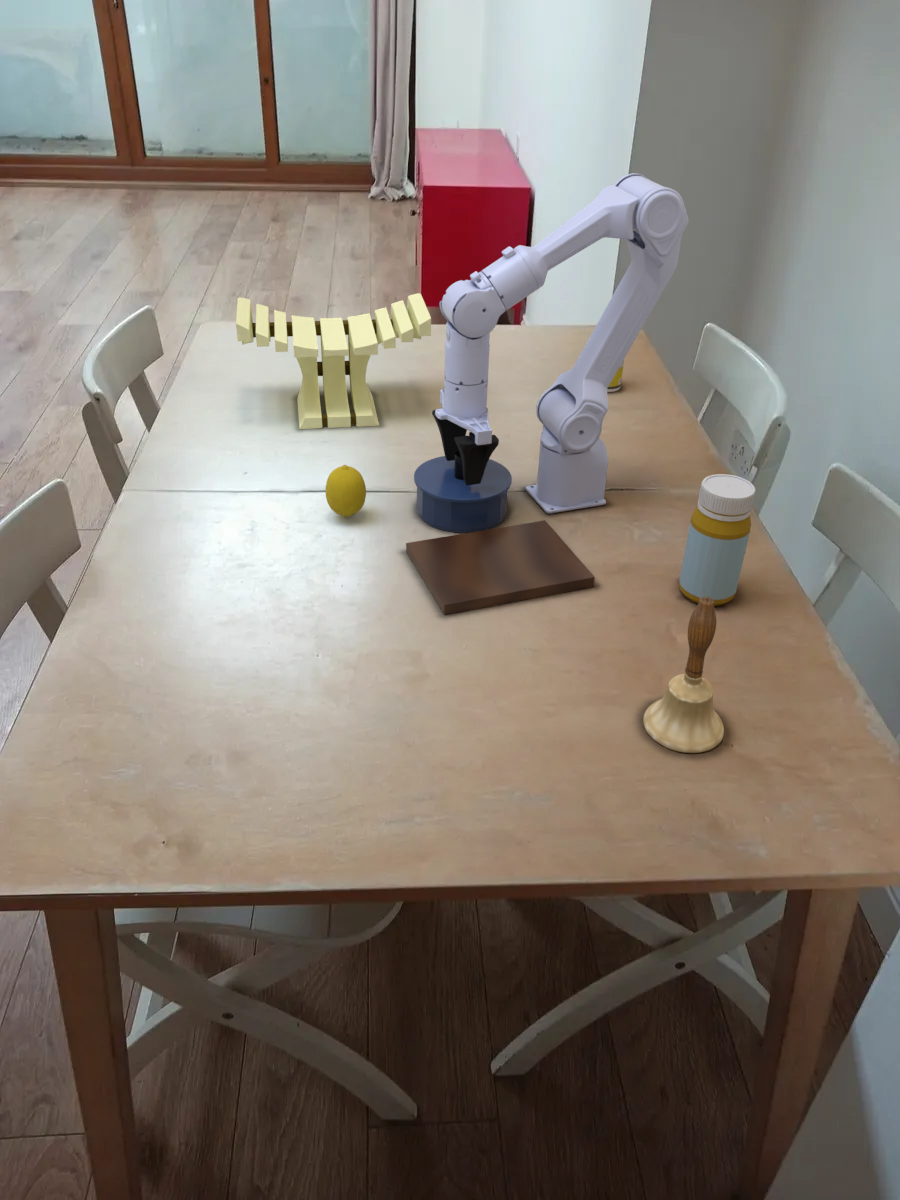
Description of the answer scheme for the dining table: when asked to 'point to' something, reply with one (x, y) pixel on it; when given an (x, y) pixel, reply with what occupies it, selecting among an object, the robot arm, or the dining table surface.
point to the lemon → (345, 491)
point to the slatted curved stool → (335, 354)
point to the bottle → (717, 539)
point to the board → (497, 566)
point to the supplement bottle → (616, 380)
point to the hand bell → (689, 695)
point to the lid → (460, 480)
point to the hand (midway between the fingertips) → (462, 471)
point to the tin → (461, 513)
